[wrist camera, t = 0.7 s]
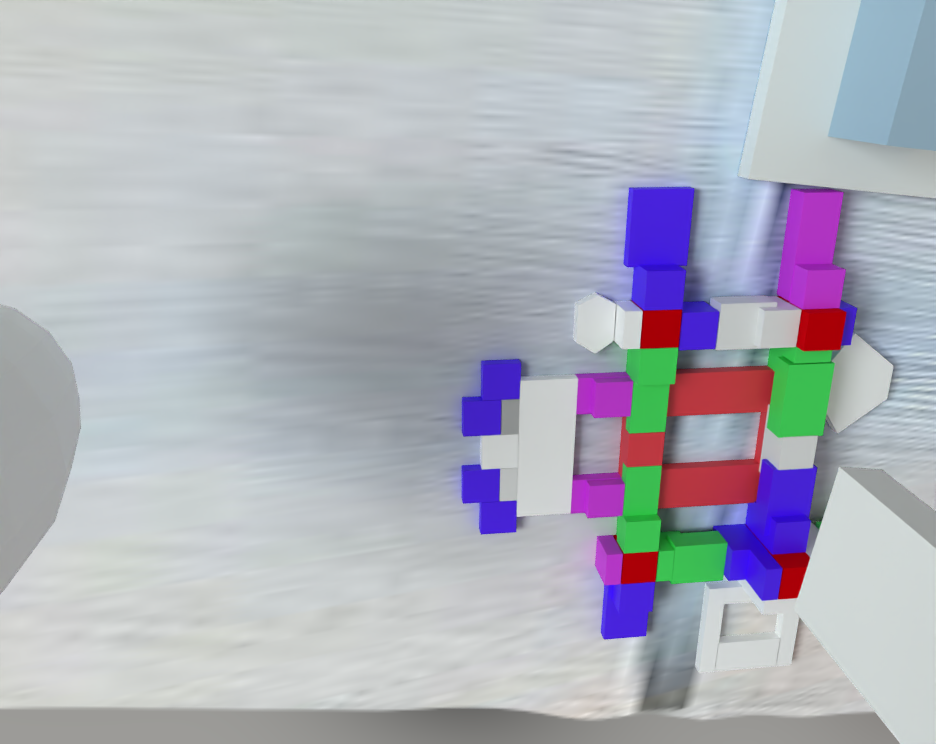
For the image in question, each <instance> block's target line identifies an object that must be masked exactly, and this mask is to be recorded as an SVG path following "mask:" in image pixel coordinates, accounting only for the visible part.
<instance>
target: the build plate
mask: <svg viewBox="0 0 936 744" xmlns="http://www.w3.org/2000/svg"><path fill="white" fill-rule="evenodd" d="M860 3H861V0H775V5H774V9H773V14H772V19H771V23H770V28H769V32H768V37H767V42H766V46H765V51H764V56H763V60H762V65H761V70H760V74H759V79H758V84H757V88H756V93H755V97H754V102H753V107H752V111H751V116H750V121H749V125H748V130H747V135H746V139H745V144H744V149H743V153H742V158H741V163H740V167H739V172H738V176H740V177H743V178H747V179H753V180H763V181H772V182H782V183H792V184H801V185H811V186H821V187H830V188H840V189H849V190H859V191H869V192H878V193H888V194H898V195H907V196H917V197H926V198H936V151H932V150H923V149H914V148H905V147H897V146H888V145H881V144H874V143H868V142H861V141H855V140H848V139H842V138H835V137H829V136H828V133H829V129H830V125H831V121H832V117H833V113H834V109H835V105H836V101H837V96H838V92H839V88H840V84H841V80H842V76H843V72H844V68H845V64H846V60H847V56H848V52H849V48H850V44H851V40H852V36H853V32H854V28H855V24H856V20H857V15H858V11H859V7H860Z"/></svg>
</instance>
